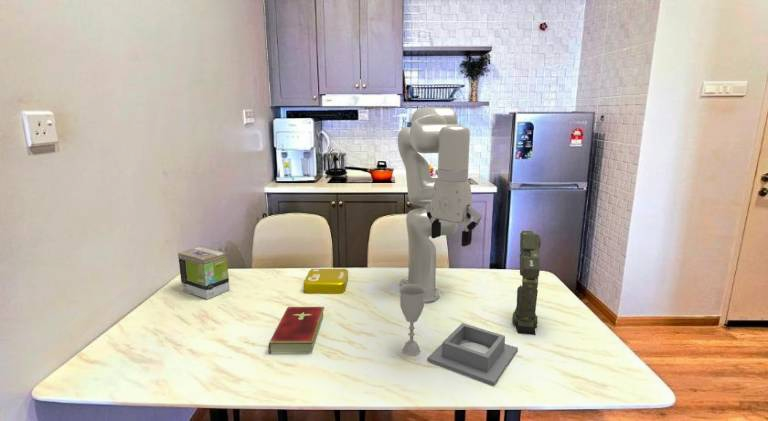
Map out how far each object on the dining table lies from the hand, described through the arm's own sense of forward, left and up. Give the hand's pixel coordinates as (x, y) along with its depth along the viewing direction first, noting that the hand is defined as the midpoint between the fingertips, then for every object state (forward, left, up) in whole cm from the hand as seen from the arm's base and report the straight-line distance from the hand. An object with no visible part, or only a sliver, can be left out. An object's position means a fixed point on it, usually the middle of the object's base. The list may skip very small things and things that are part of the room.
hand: (450, 241), depth 108 cm
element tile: (-56, +13, -31) cm, 65 cm away
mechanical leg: (+14, +25, -31) cm, 42 cm away
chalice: (-7, -7, -31) cm, 32 cm away
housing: (+8, 0, -31) cm, 32 cm away
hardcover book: (-39, -18, -31) cm, 53 cm away
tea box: (-90, -16, -31) cm, 96 cm away
